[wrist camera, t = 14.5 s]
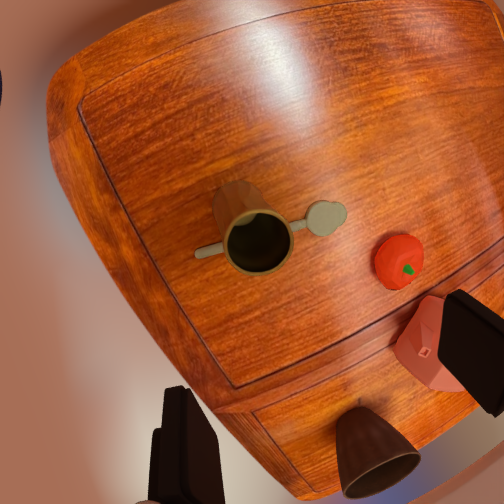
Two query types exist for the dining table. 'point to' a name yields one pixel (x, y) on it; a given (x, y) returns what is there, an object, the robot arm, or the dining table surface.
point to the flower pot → (371, 454)
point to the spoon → (301, 224)
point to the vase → (251, 229)
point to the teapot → (426, 347)
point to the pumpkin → (399, 261)
